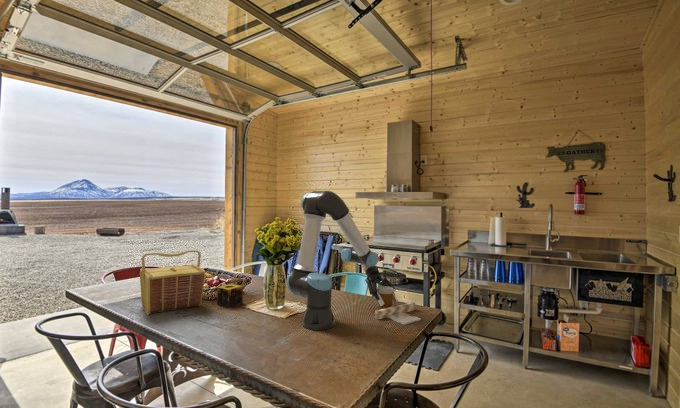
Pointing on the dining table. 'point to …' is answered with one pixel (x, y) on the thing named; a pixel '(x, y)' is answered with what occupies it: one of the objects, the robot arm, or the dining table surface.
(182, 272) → the picnic basket
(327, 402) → the dining table surface
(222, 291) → the candle
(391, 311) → the jamb strip
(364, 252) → the robot arm
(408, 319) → the white napkin
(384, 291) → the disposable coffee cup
